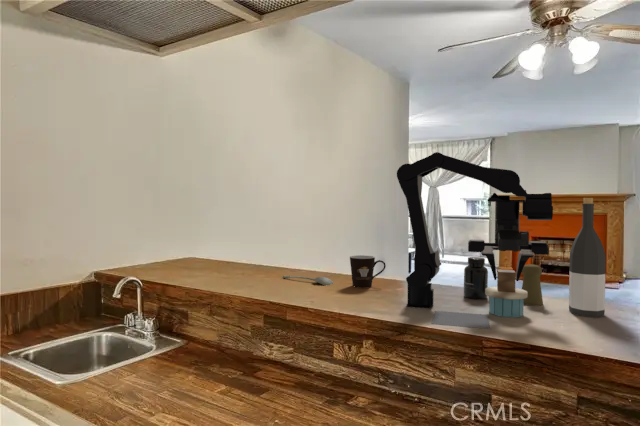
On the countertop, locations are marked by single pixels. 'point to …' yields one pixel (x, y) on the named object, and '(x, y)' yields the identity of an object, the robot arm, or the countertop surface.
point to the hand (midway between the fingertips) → (506, 280)
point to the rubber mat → (461, 319)
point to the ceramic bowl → (506, 307)
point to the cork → (532, 284)
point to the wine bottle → (587, 269)
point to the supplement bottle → (475, 278)
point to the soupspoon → (319, 279)
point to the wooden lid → (506, 287)
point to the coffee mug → (363, 270)
